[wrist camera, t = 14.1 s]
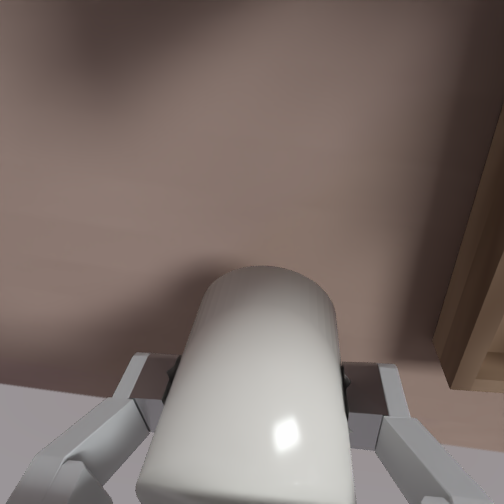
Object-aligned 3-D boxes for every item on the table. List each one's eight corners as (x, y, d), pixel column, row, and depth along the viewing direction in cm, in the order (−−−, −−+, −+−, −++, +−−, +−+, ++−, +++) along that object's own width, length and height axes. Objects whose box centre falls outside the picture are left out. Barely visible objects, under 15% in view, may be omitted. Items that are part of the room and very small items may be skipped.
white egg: (211, 359, 14) (164, 537, 9) (188, 265, 12) (104, 449, 7) (332, 365, 14) (349, 562, 9) (340, 265, 11) (370, 474, 6)
